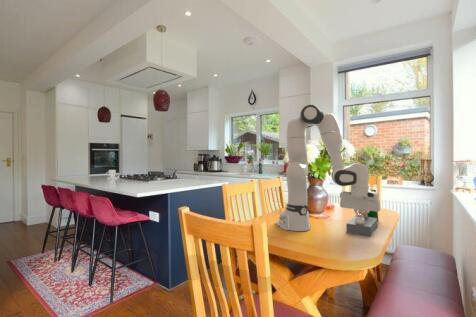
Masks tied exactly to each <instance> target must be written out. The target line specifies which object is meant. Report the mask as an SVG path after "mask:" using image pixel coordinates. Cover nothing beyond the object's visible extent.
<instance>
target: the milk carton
mask: <svg viewBox="0 0 476 317" xmlns="http://www.w3.org/2000/svg"><path fill="white" fill-rule="evenodd" d="M370 190H371V191H374V192H377V190H376V189H370ZM379 197H380V193H378V198H379ZM367 217H372V218H377V222H379V213H378V212H375V211H369V213H367Z"/></svg>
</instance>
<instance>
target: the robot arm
mask: <svg viewBox="0 0 476 317" xmlns="http://www.w3.org/2000/svg"><path fill="white" fill-rule="evenodd" d="M313 126H315V127H316V128H317V129H318V132H319V136H320V138H321V141H322V143H323V145H324V148H325V149H326V151H327V153H328V156H329V159H330V163H331V167H332V172H331V180H332V181H333V182H334V183H335V184H336V185H338V186H340V187H346V186H350V191H345V190H344V191H341V192H340V193H339V198H340V201H339V206H340V208H341V209H342V208H344V209H352V210H353V211H354V213H355V216H356V217H358V218H362V217H363V213H364V212H365V210H367V211H375V212H380V211H381V210H382V208H381V200H380V199H379V197H378V194H379V193H378V192H377V191H376V192H374V191H371V190H372V189H369V181H370V176H369V174H370V172H369V167H368V166H367V165H366V164H364V163H358V162H354V163H353V162H352V164H350V165H349V166H346V167H345V165H344V161H343V158H342V154H341V152H342V151H341V148H342V145H343V136H342V131H341V128H340V124H339V122H338V120H337V118H336V116H335V115H334V114H333V113H324V111H322V110H321V109H320V108H319V107H318V106H317V105H314V104H308V105H305V106H304V107H303V108H301V111H300V114H299V117H298V118H294V119H291V120H290V121H288V123H287V127H286V149H287V150H286V151H287V152H286V153H287V157H288V165H287V167H286V169H285V174H286V175H285V176H286V185H287V203H286V204H285V207H286V208H285V209H284V211H283V212H281V213H280V214H279V218H278V220H277V221H275V223H274V224H275V225H277V226H278V227H279V226H280V227H279V228H281V229H282V230H284V231H292V232H293V231H294V232H307V231H310V230H311V227H312V225H311V224H310V214H309V212H308V211H309V204H308V188H307V187H308V185H307V176H308V174H309V163H308V162H309V161H308V160H309V159H308V154H307V153H308V151H307V136H306V135H307V133H306V132H307V129H308V128H311V127H313ZM358 209H359V210H361V212H362V214H358Z"/></svg>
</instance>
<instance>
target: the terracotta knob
mask: <svg viewBox="0 0 476 317" xmlns="http://www.w3.org/2000/svg"><path fill="white" fill-rule="evenodd" d="M357 212H358V214H362V212H361V210H359V209H358V210H357ZM364 215H367V210H365V212H364V213H363V217H362V218H364Z"/></svg>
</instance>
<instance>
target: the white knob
mask: <svg viewBox="0 0 476 317" xmlns="http://www.w3.org/2000/svg"><path fill="white" fill-rule="evenodd" d="M354 217H355V216H354ZM355 224H359V225H364V218H358V217H355Z"/></svg>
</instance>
